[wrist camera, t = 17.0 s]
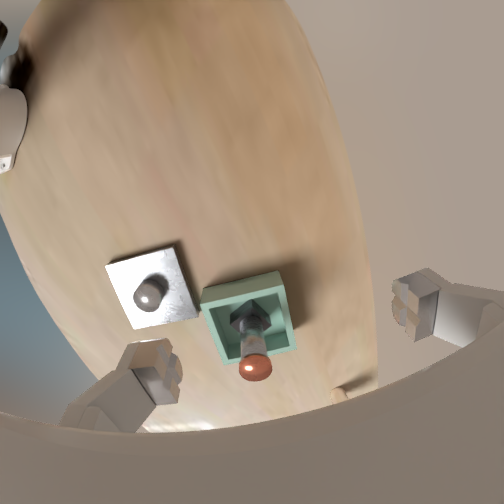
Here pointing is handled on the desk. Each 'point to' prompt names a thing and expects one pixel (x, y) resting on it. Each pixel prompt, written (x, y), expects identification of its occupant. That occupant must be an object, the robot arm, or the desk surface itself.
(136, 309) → the stud mount
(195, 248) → the desk surface
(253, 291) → the bin
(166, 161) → the desk surface
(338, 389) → the milkshake
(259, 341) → the strut
